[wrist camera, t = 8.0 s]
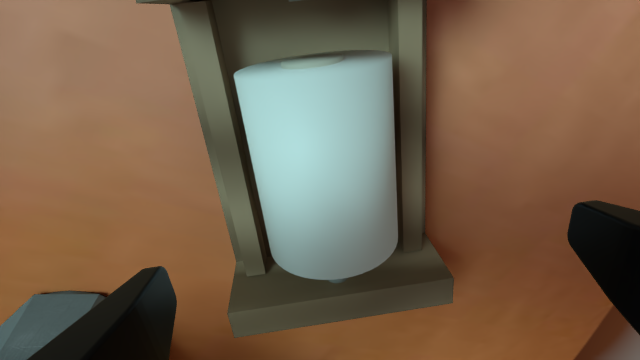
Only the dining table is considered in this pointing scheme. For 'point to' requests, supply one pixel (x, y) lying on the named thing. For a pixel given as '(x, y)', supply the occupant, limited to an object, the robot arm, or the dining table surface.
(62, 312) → the coffeepot
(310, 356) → the dining table surface
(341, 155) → the cylinder
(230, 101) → the cradle
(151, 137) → the dining table surface
